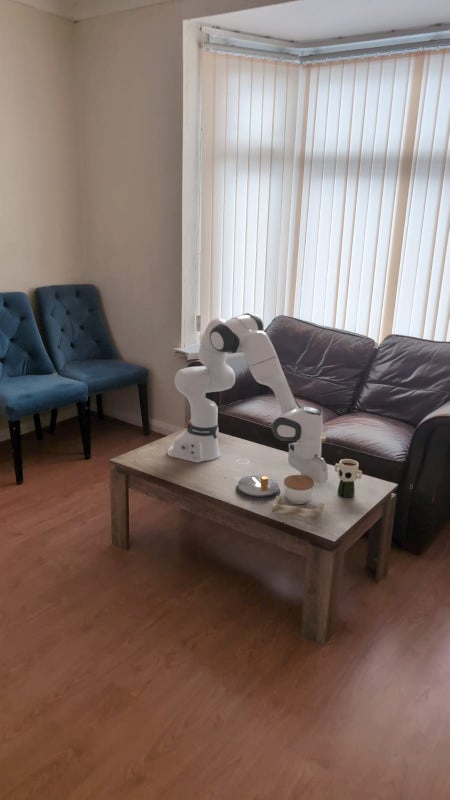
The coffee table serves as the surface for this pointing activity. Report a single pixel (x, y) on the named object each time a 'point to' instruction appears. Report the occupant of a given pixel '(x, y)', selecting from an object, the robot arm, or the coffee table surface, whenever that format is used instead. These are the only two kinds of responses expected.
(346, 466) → the character mug
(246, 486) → the turntable
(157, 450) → the coffee table surface
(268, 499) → the base
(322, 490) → the coffee table surface
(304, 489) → the lidded jar
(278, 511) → the cream u-shaped bracket
